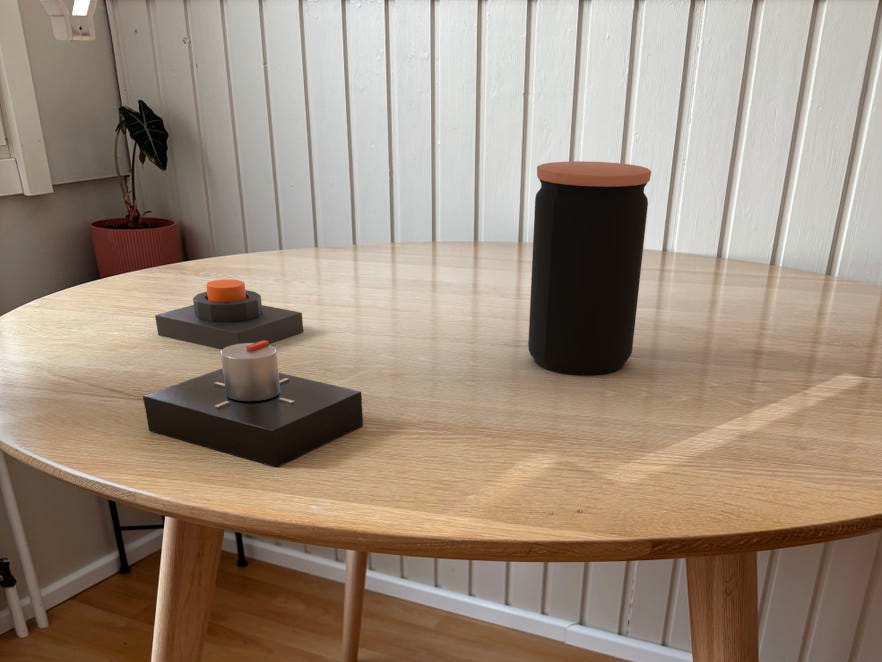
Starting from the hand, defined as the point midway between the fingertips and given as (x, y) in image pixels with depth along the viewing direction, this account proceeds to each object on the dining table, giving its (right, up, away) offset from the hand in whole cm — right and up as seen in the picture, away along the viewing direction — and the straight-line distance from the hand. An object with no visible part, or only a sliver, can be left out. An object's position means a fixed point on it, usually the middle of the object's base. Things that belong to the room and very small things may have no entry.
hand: (75, 40), depth 80 cm
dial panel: (+16, -33, -1) cm, 37 cm away
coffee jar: (+45, -23, +17) cm, 53 cm away
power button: (+7, -15, +21) cm, 26 cm away
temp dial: (+16, -31, -3) cm, 35 cm away
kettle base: (+7, -18, +23) cm, 30 cm away
